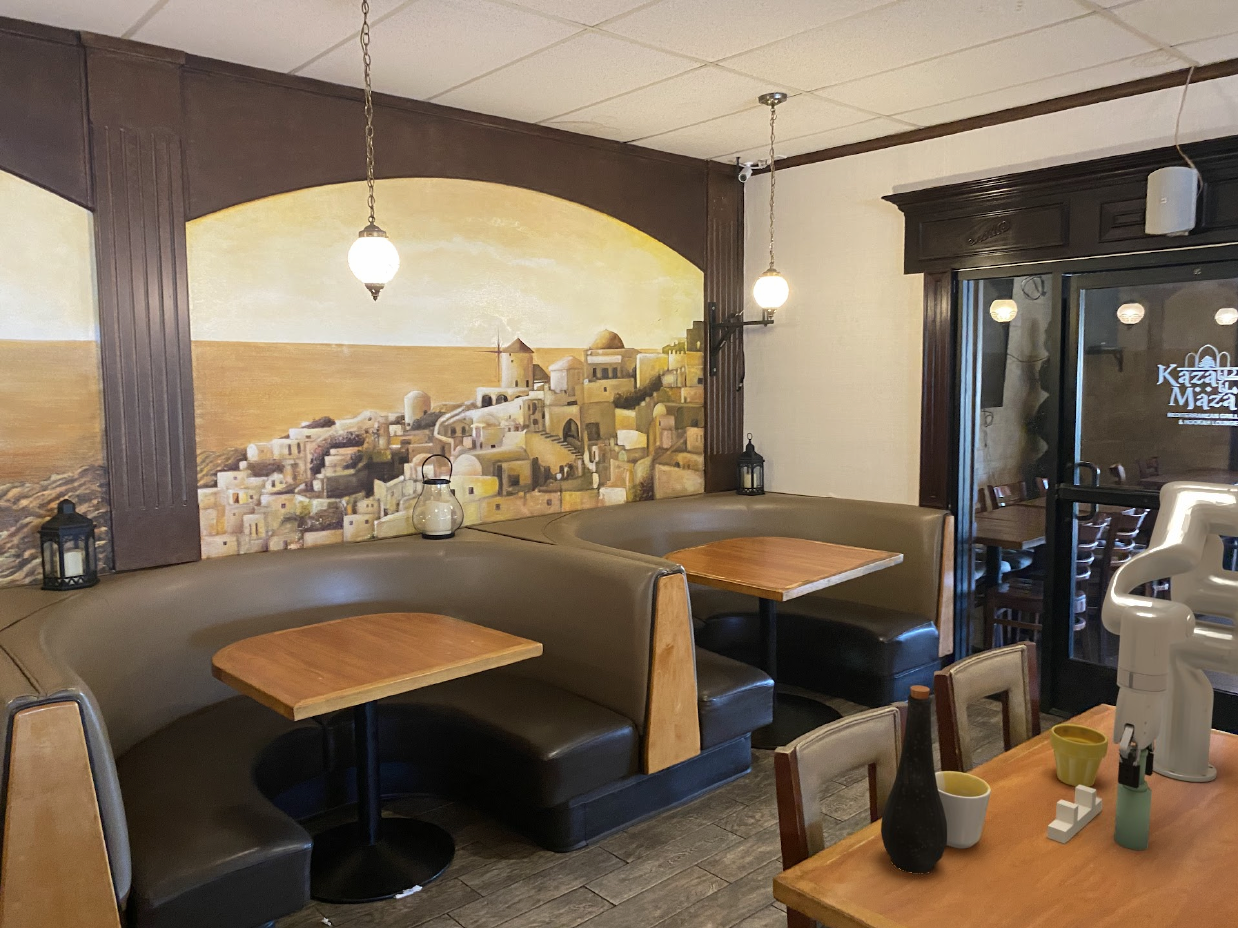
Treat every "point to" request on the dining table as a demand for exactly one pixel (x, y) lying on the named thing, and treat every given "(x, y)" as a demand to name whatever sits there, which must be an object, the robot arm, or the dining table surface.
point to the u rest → (1074, 814)
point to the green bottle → (1133, 811)
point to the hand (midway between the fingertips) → (1135, 778)
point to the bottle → (915, 796)
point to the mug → (963, 806)
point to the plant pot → (1077, 753)
